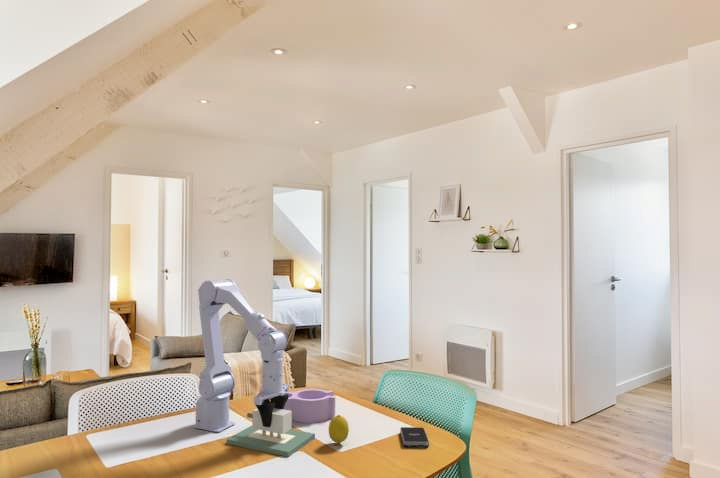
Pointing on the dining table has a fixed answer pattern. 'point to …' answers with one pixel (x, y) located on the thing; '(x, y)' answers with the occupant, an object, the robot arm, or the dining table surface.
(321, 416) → the purple lobed piece
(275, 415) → the plug housing
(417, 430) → the external hard drive
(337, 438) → the lemon
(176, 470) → the dining table surface
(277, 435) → the board
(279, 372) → the robot arm
